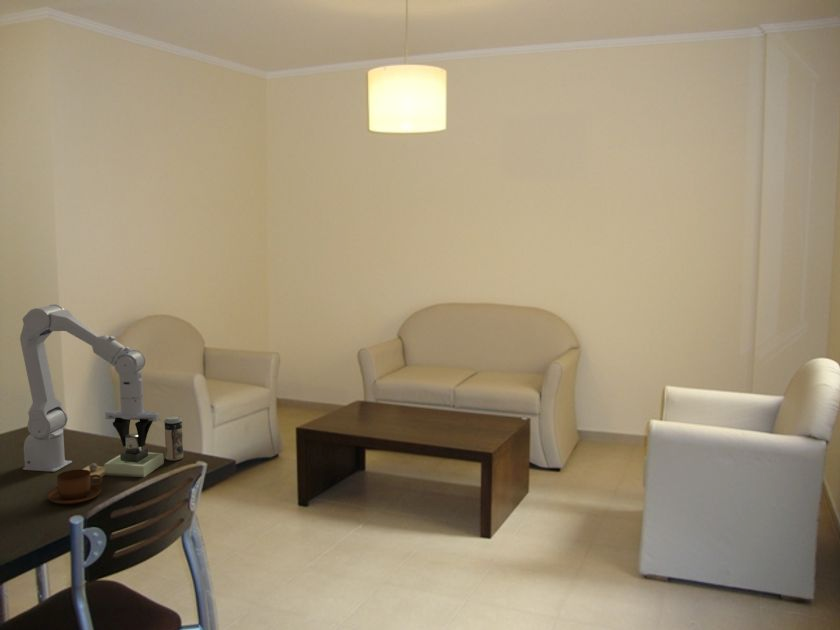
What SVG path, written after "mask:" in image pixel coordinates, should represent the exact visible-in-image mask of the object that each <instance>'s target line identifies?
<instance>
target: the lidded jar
mask: <svg viewBox="0 0 840 630" xmlns="http://www.w3.org/2000/svg"><path fill="white" fill-rule="evenodd" d="M183 435H184V434H183V419H182V418H181V416H180V415H169V416H166V417H165V420H164V441H165V443H164V445H165V459H166V460H168V461H171V462H175V461H179V460H181V459H183V458H184V443H183V442H184V440H183V439H184V438H183V437H184V436H183Z"/></svg>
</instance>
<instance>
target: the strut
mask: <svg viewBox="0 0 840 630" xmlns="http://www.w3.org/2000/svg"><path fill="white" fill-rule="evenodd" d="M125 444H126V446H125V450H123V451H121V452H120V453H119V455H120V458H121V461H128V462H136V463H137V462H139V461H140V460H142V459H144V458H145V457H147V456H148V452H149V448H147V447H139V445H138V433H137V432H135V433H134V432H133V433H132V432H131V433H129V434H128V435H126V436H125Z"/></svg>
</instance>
